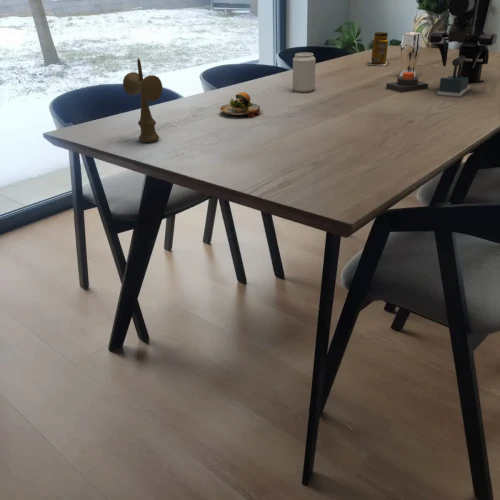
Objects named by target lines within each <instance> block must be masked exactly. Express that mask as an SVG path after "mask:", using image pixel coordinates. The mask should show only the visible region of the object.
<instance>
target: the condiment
mask: <svg viewBox="0 0 500 500" xmlns="http://www.w3.org/2000/svg"><path fill="white" fill-rule="evenodd" d="M388 45H389V40H388V32H386V31H375V32H374V36H373V40H372V49H371V60H370V61H369V62H368V66H387V65H388V61H387V56H388Z"/></svg>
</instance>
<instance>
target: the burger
mask: <svg viewBox="0 0 500 500" xmlns="http://www.w3.org/2000/svg"><path fill="white" fill-rule="evenodd" d="M245 87H246V88H247V86H245ZM260 108H261V106H260V105H259V104H256V103H252V102H251V96H250V94H248V93H247V92H246V91H240V92H238V93H236V94H235V100H234V98H233V97H231V98H230V101H229V102H228V104H224V105H222V106H220V107H219V110H220V111H221V112H222V113H225V114H227V115H232V116H244V115H247V117H248V119H250V118H254V117H255V115H256V114H257V115H260V114H261V109H260Z"/></svg>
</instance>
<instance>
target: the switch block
mask: <svg viewBox="0 0 500 500" xmlns="http://www.w3.org/2000/svg"><path fill="white" fill-rule="evenodd" d="M402 77H403V76H401V77H399V76H397V80H396V81H394V82H393V81H392V82H387V83H386V86H385V89H386V90H391V91H395V92H399V93H408V92H414V91H420V90H426V89H429V83H427V82H425V81H419V77H417V76H416V77H414V79H402Z"/></svg>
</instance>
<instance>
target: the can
mask: <svg viewBox="0 0 500 500" xmlns="http://www.w3.org/2000/svg"><path fill="white" fill-rule="evenodd" d="M315 88H316V57H315V56H314V53H313V52H296V53H295V54H294V57H293V58H292V89H293V90H294V92H296V93H311V92H313V90H314V89H315Z"/></svg>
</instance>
